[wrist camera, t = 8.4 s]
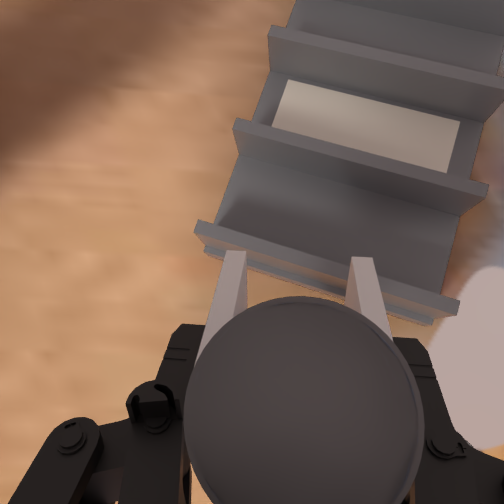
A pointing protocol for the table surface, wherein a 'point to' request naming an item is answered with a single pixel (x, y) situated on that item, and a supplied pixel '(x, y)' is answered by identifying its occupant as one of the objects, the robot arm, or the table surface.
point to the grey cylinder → (303, 409)
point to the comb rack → (365, 147)
